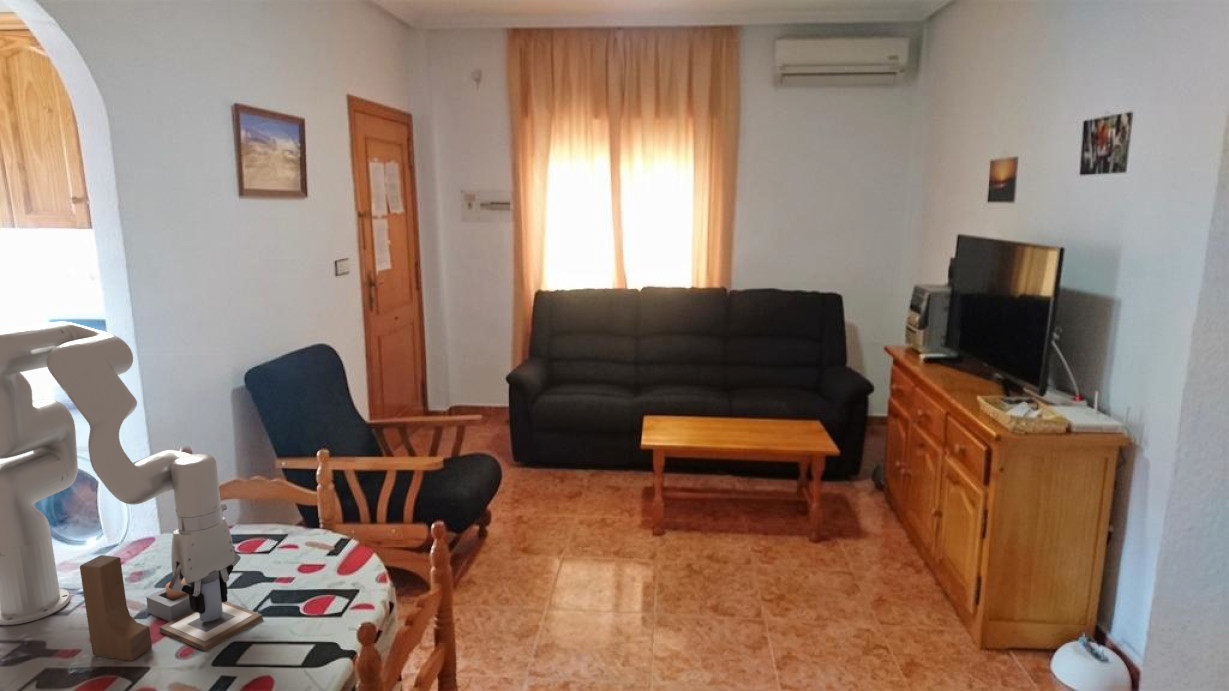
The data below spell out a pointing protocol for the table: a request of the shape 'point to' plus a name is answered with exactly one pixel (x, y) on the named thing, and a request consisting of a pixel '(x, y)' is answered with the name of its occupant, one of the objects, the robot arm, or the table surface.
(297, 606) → the table surface
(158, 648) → the table surface
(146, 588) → the table surface
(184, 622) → the picture frame
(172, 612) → the button housing
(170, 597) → the button
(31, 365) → the robot arm
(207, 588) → the grey capped shaker
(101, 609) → the wooden block
